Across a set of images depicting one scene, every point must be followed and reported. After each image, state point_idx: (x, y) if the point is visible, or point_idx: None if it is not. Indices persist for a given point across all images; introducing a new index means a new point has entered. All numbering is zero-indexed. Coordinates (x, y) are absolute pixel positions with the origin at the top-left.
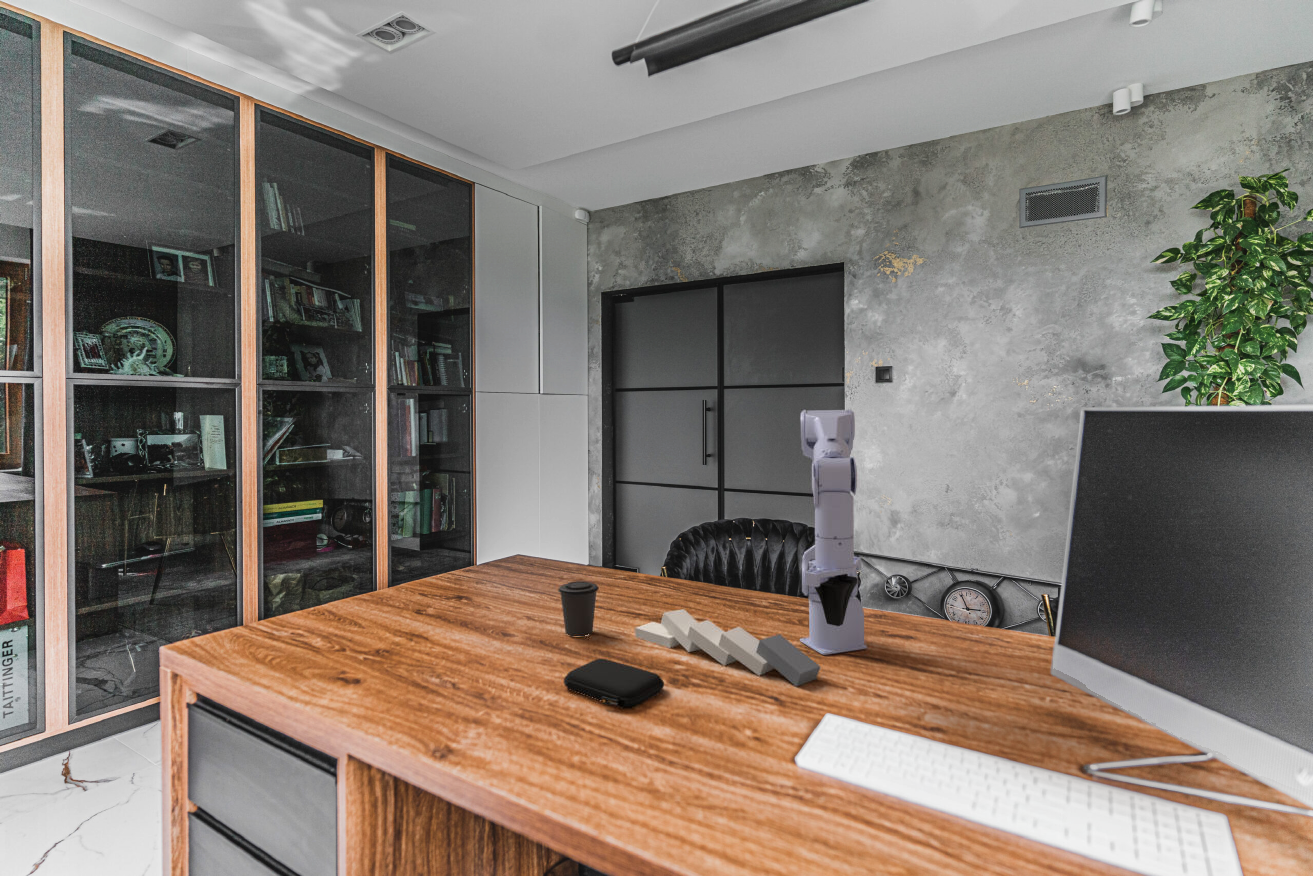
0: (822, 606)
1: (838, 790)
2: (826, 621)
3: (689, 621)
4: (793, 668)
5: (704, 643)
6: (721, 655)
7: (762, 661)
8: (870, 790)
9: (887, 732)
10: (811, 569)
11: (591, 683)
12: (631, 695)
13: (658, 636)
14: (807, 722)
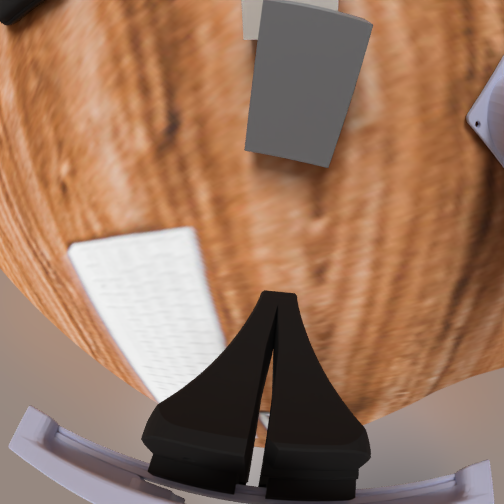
0: (242, 330)
1: (75, 293)
2: (262, 294)
3: None
4: (247, 128)
5: None
6: None
7: (250, 31)
8: (96, 312)
9: (202, 308)
10: (56, 479)
11: None
12: (2, 20)
13: None
14: (141, 217)
